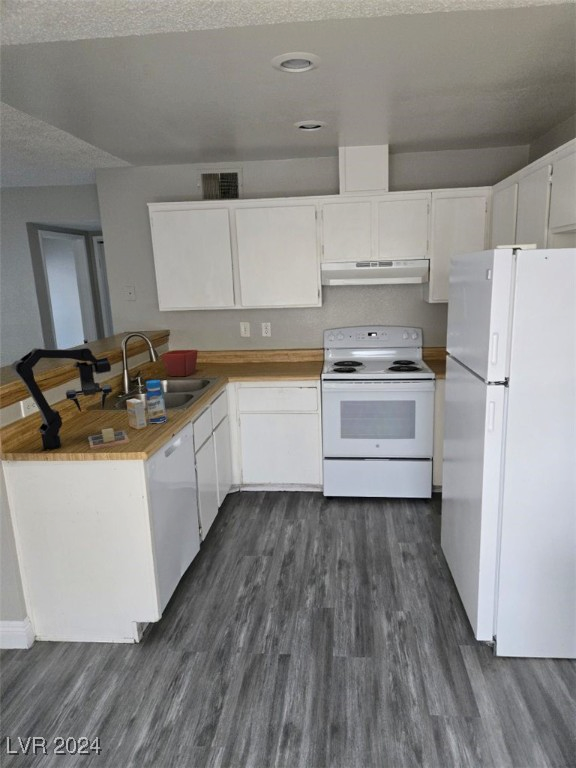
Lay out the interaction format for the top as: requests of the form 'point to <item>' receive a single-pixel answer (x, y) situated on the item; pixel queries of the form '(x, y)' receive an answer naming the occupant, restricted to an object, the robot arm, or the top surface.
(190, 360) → the plant pot
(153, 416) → the beverage bottle
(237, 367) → the top surface
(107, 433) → the pale yellow block
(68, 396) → the robot arm
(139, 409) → the supplement box
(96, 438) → the rail frame
